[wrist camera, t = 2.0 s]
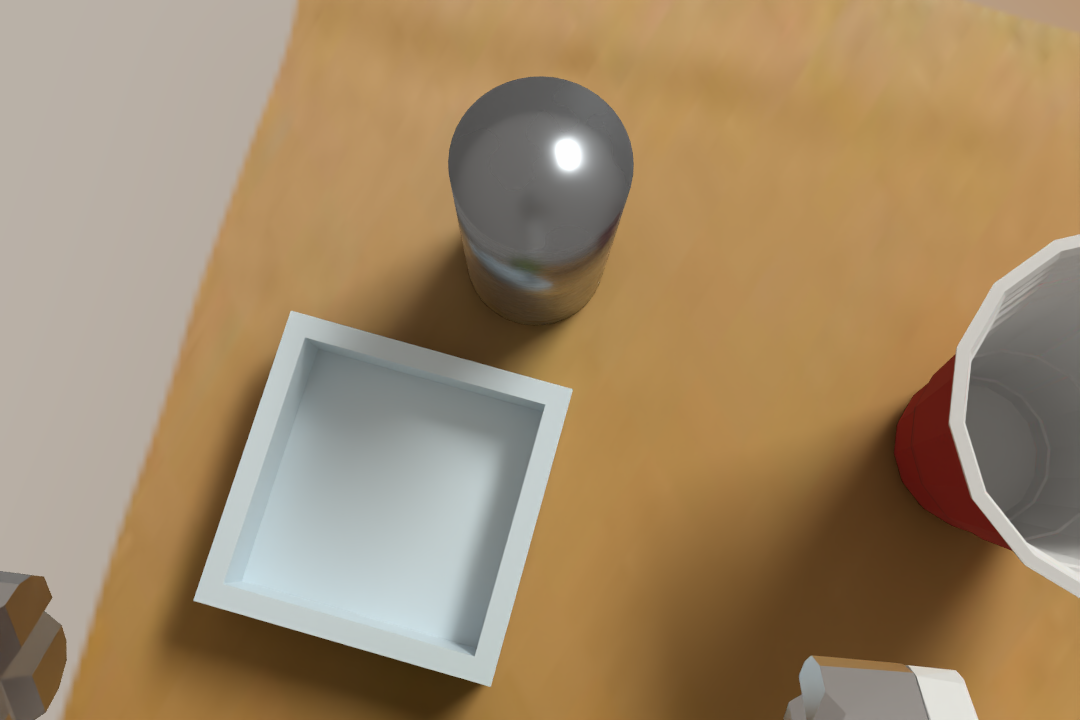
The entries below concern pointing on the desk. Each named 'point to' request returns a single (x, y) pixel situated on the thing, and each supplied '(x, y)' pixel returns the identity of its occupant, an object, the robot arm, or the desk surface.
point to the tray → (386, 498)
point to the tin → (539, 195)
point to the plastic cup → (1008, 420)
